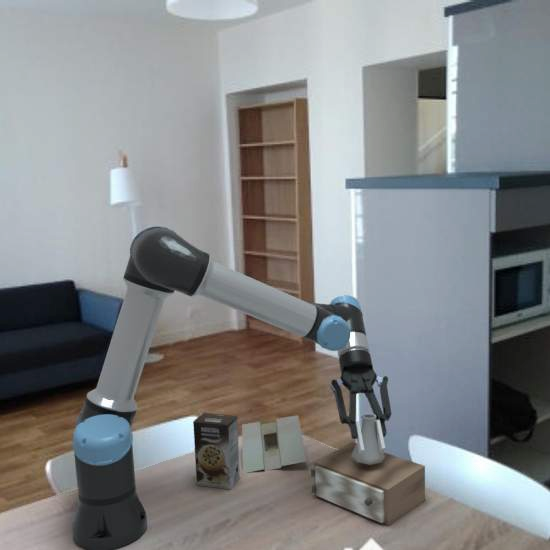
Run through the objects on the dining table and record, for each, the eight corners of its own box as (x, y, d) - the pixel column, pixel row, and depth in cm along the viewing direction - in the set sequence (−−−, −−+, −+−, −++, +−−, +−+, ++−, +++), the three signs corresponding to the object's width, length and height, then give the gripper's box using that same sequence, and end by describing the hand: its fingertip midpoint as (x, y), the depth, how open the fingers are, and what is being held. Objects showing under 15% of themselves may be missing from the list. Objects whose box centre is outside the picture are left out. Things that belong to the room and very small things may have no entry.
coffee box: (195, 485, 155) (191, 421, 152) (206, 473, 161) (203, 411, 158) (231, 490, 152) (227, 424, 149) (241, 477, 158) (237, 414, 156)
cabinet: (309, 498, 147) (308, 464, 146) (353, 473, 158) (352, 442, 157) (383, 529, 133) (382, 493, 132) (425, 499, 144) (424, 465, 143)
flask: (366, 449, 150) (366, 407, 148) (391, 458, 144) (392, 415, 143) (344, 458, 145) (345, 415, 144) (370, 468, 140) (371, 424, 138)
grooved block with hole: (312, 475, 167) (303, 422, 176) (308, 461, 160) (299, 407, 169) (249, 486, 167) (244, 433, 177) (242, 473, 161) (237, 418, 170)
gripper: (386, 361, 158) (407, 454, 144) (317, 365, 156) (331, 460, 143) (392, 345, 152) (414, 441, 138) (320, 350, 150) (335, 448, 137)
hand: (372, 451), depth 140 cm, fingers closed on flask, 4 cm apart
